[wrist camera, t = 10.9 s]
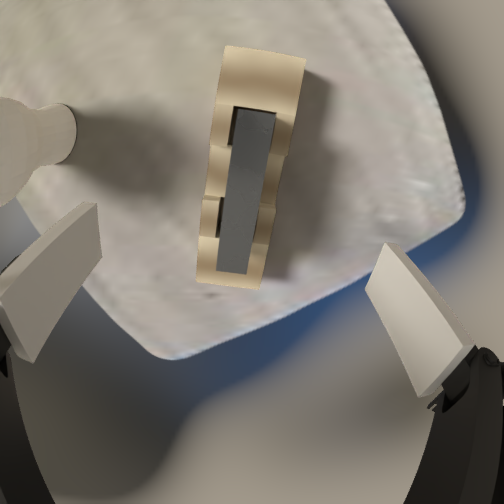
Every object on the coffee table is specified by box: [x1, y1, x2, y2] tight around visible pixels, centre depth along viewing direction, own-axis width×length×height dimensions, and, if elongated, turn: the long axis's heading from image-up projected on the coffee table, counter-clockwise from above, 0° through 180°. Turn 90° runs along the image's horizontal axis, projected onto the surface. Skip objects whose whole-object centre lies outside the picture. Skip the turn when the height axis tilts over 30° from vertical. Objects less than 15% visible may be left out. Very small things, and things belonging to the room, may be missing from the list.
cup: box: [0, 97, 77, 207], centre depth 17 cm, size 11×11×15 cm
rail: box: [196, 46, 306, 290], centre depth 26 cm, size 24×7×4 cm, turn 171°
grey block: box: [216, 109, 276, 275], centre depth 23 cm, size 13×3×8 cm, turn 171°
